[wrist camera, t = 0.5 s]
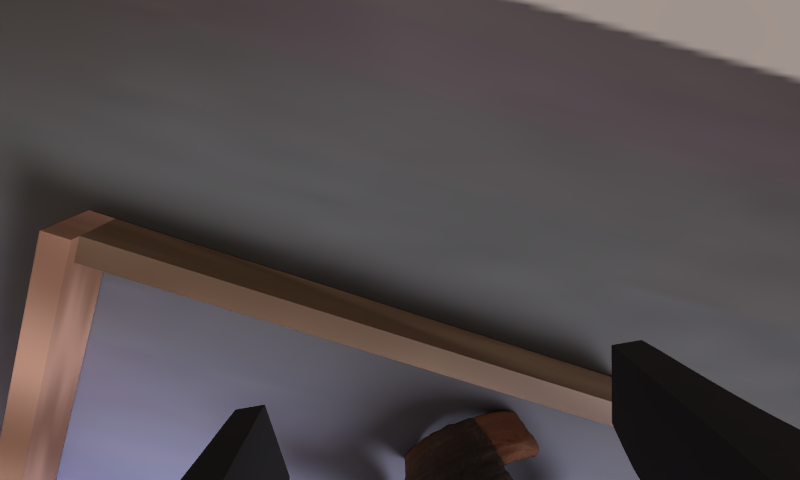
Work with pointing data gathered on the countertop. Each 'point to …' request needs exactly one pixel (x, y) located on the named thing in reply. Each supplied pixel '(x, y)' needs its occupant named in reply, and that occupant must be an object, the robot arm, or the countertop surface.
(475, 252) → the countertop surface
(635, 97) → the countertop surface
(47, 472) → the wooden bracket
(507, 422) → the brown jagged ring
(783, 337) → the countertop surface
